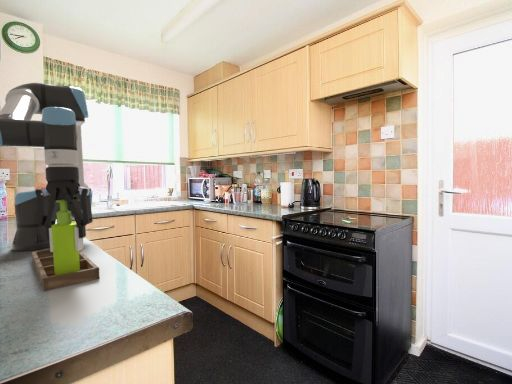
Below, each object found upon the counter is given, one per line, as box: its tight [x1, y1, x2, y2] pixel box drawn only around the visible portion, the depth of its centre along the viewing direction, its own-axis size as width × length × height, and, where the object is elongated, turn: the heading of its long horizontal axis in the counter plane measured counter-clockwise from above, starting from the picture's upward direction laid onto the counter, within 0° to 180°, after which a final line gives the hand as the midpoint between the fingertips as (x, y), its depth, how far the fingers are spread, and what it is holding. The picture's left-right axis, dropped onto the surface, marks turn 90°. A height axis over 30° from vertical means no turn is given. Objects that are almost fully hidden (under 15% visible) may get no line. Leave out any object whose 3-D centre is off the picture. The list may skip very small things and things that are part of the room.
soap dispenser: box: [52, 199, 80, 275], centre depth 80 cm, size 6×7×20 cm
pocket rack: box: [31, 248, 101, 292], centre depth 89 cm, size 36×12×3 cm, turn 41°
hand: (67, 250), depth 80 cm, fingers closed on soap dispenser, 6 cm apart
